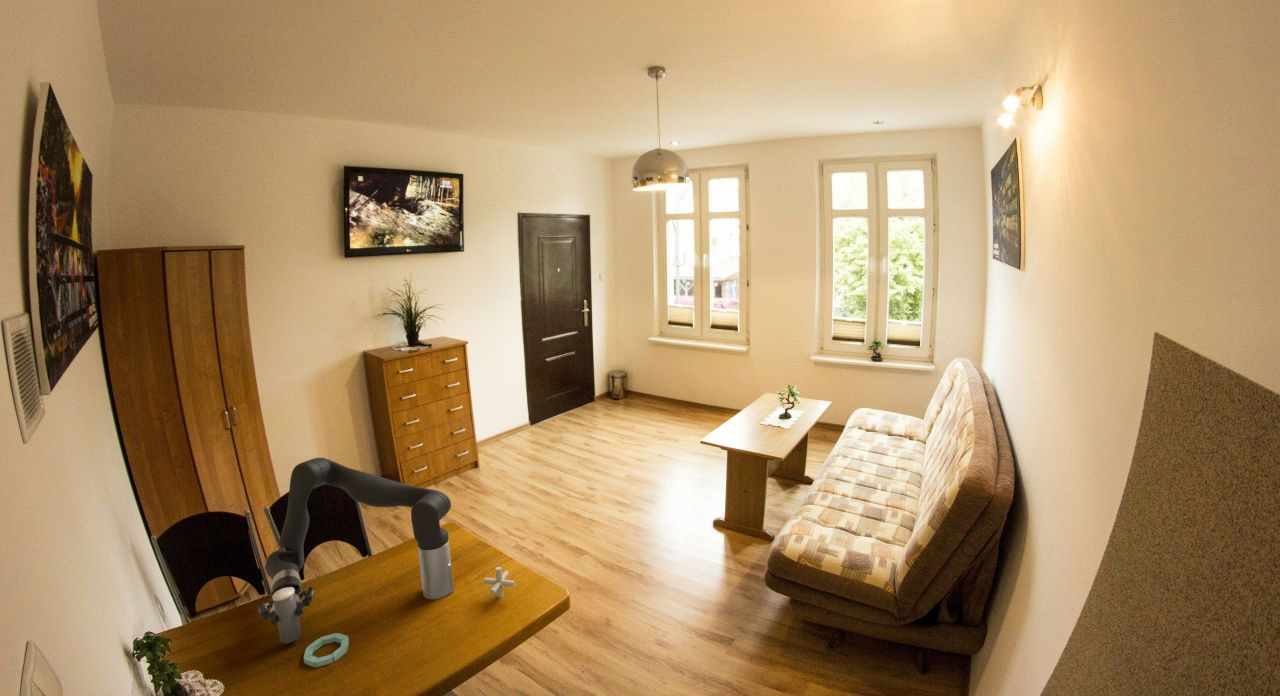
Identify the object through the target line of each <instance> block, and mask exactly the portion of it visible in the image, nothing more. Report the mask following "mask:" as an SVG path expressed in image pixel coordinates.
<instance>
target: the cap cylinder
mask: <svg viewBox="0 0 1280 696" xmlns="http://www.w3.org/2000/svg"><path fill="white" fill-rule="evenodd" d="M294 592H295V590H294V588H293V587H286V588H283V589H280V590H278V591H276V592H275V593H274V594H273V595H272V599H273V602H274V607H275V613H276V618H277V629H278V634H279V640H280V642H281V644H290V643H292V642H295V641H297V640H298V639H299V638H300V637H301V636H302V628H301V624H300V617H298V615H297V604H296V598H295V593H294Z"/></svg>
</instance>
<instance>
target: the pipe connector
mask: <svg viewBox="0 0 1280 696" xmlns="http://www.w3.org/2000/svg"><path fill="white" fill-rule="evenodd" d="M502 569H503V568H502V566H496V567H495V578H492V577H485V578H484V579H483V584H484V585H492V587H491V588H490V590H489V594H490V595H491V596H494V595H495V594H497V599H502V598H504V587H510V588H514V587H515V586H516V581H515V580H510V579H507V577H509V575H510V572H509V571H508V570H505V571H503V570H502Z"/></svg>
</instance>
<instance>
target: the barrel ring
mask: <svg viewBox="0 0 1280 696" xmlns="http://www.w3.org/2000/svg"><path fill="white" fill-rule="evenodd" d="M334 642H335V643H338V644H340V647H338V648H337V649H336V650H335V651H333V652H332V653H330V654H327V655H324V656H320V657H318V656H315V655H313V654H314V652H316V651H317V650H318V649H319V648H321V647H323V646H325V645H327V644H332V643H334ZM349 643H350V639H349V635H346V634H342V633H341V632H340V633H338V632H337V633H336V632H335V633H331V634H327V635H325V636H320V638H319V637H318V638H317V639H316V640H315V641H313V642H312V643H310V644H309V645H308V646H307V647H306V648H305V651H304V654H303V664H305V665H307V666H309V667H313V668H319V667H323V666H326V665H329V664H333V663H334V662H336V661H338V659H340V658H341V657H342V656H343V655H345V654H346V653H347V652H348V651H349V645H350V644H349Z"/></svg>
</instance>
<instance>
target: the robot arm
mask: <svg viewBox="0 0 1280 696" xmlns="http://www.w3.org/2000/svg"><path fill="white" fill-rule="evenodd" d="M321 486H331V487H336V488H339V489H342V490H343V491H345V492H346V494H348V495H349V497H350V498H351V499H353V500H354V501H355V502H358V503H360V504H363V505H366V506H370V507H375V508H395V507H406V508H408V507H409V508H411V510H410V520H411V525H412V532H413V537H414V539H415V541H416V543H417V548H418V560H419V566H420V567H419V568H420V569H419V570H420V578H421V588H422V596H423V597H424V598H425V599H427V600H438V599H441V598H444V597H446V596H448V595H450V594H451V593H454V590H455V588H454V580H453V569H452V568H453V567H452V561H451V551H450V550H451V549H450V541H449V533H448V530H447V529H445V528H442V527H441V524H440V521H441V520H442V519H443V518H444V517H446V515H447V514H448V513H449V511H450V510H451V507H452V501H451V499H450V498H449V496H448V495H446V494H445V493H444V492H441V491H439V490H436V489H431V488H425V487H420V486H419V487H418V486H414V485H411V484H410V485H409V484H406V483H403V482H399V481H395V480H392V479H388V478H386V477H382V476H379V475H375V474H373V473H367V472H365V471H361V470H357V469H354V468H351V467H347V466H345V465H342V464H340V463H338V462H336V461H333V460H331V459H328V458H326V457H316V458H311V459H308V460H305V461H302V462H300V463H298V464H297V465H296V466H294V468H293V469H292V471H291V476H290V480H289V490H288V498H287V501H288V502H287V508H286V510H287V511H286V515H285V520H284V523H283V526H282V530H281V533H280V537H279V541H278V542H279V546H280V547H281V548H283V549H285V550H275V551H273V552H271V553H270V554H269V555H268V556H267V558H266V560H265V571H266V573H267V575H268V576H269V578H271V580H272V581H271V585H270V586H271V587H270V599H269V601H268V602H267V603H262V602H261V603H260V602H259V603H258V604H257V610H258V614H259V615H260V617H261V619H262V620H263V621H264V622H265V621H268V620H269V623H270V624H271V625H273V626H278V624H277V618H276V613H275V607H274V602H273V599H272V595H273V594H274V593H275V592H276V591H278V590H280V589H283V588H286V587H293V588H294V590H295V592H294V593H295V598H296V604H297V615H298V617H299V618H300V617H301V615H302V614H304V607H309V606H311V604H312V601H313V598H314V596H315V593H314V587H313V586H309V587H308V588H307V590H303V589H302V580H301V577H300V571H301V569H303V567H304V564H305V555H304V545H305V540H306V536H307V532H308V531H309V530H308V529H309V526H310V514H309V511H308V506H307V504H308V500H309V496H310V494H311V493H312V491H313V489H316V488H319V487H321ZM303 597H304V598H303ZM302 598H303V600H302ZM269 608H270V610H269V611H268V609H269Z"/></svg>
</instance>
